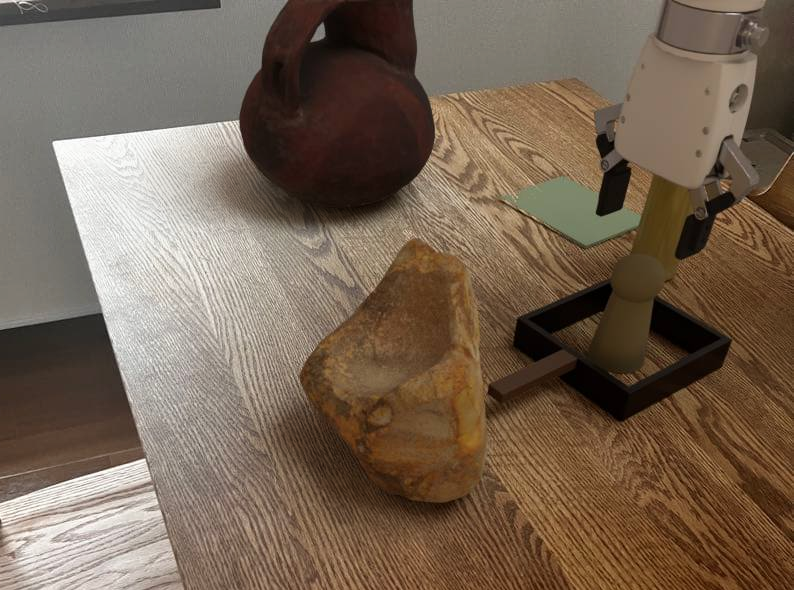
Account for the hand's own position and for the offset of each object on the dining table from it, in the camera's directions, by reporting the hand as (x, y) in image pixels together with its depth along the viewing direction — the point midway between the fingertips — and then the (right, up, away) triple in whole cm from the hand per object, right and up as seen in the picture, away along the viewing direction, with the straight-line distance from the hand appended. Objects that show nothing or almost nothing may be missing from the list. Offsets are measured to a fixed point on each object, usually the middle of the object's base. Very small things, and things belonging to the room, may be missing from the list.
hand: (646, 233), depth 77 cm
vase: (+8, +4, +23) cm, 24 cm away
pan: (-4, -11, +8) cm, 15 cm away
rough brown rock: (-24, -19, +1) cm, 30 cm away
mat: (0, +15, +32) cm, 36 cm away
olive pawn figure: (0, -9, +10) cm, 14 cm away
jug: (-31, +19, +35) cm, 51 cm away
